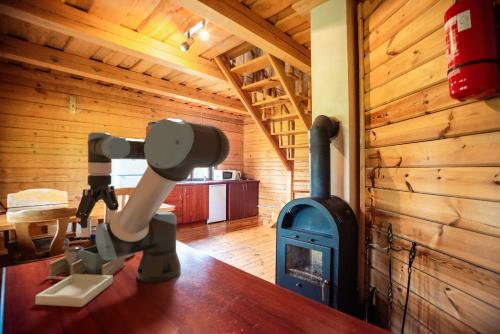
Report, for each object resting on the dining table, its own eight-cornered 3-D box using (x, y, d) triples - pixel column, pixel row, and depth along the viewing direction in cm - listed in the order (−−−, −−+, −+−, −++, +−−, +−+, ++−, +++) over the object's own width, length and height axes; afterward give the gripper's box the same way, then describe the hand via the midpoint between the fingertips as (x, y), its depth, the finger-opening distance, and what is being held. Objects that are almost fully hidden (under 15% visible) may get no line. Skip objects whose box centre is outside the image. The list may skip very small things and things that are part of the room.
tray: (112, 282, 83) (112, 275, 83) (81, 306, 69) (81, 298, 69) (73, 280, 84) (73, 273, 84) (35, 304, 70) (35, 295, 70)
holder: (125, 264, 98) (125, 252, 98) (102, 281, 84) (102, 267, 84) (77, 262, 99) (77, 250, 99) (46, 278, 85) (46, 264, 85)
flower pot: (117, 269, 93) (118, 246, 93) (94, 279, 85) (95, 254, 85) (102, 265, 97) (103, 242, 97) (79, 274, 89) (79, 249, 89)
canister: (86, 267, 95) (87, 245, 94) (75, 274, 89) (75, 250, 89) (73, 267, 95) (73, 245, 95) (61, 273, 89) (61, 250, 89)
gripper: (111, 172, 104) (110, 222, 104) (62, 176, 79) (61, 241, 79) (128, 173, 103) (127, 223, 103) (84, 176, 78) (83, 242, 79)
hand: (99, 231), depth 91 cm, fingers open, 13 cm apart
